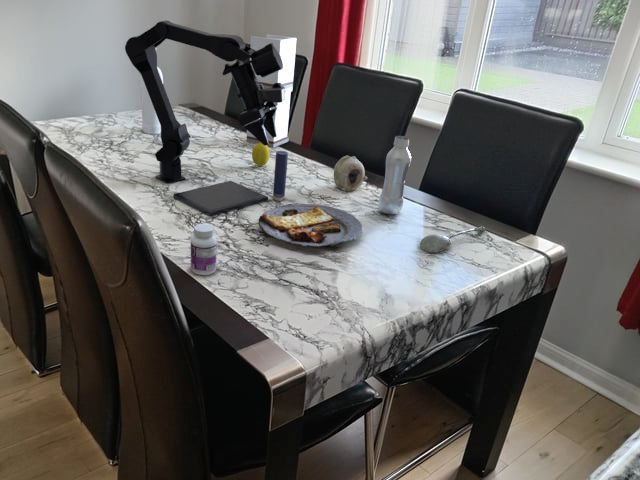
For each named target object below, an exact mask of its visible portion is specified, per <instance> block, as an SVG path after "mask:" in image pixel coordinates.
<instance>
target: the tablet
mask: <svg viewBox="0 0 640 480" xmlns="http://www.w3.org/2000/svg"><path fill="white" fill-rule="evenodd" d="M173 198H174V199H176V200H178V201H180V202H181V203H184V204H186V205H188V207H192V208H194V209H195V210H196V211H199V212H201V213H203V214H205V215H207V216H209V217H213V216H218V215H219V214H223V213H227V212H232V211H234V210H238V209H242V208H245V207H248V206H253V205H256V204H260V203H263V202H267V201H269V196H267V195H265V194H262V193H260V192H258V191H256V190H254V189H251V188H249V187H246V186H244V185H242V184H240V183H237V182H235V181H232V180H228V181H223V182H218V183H215V184H210V185H207V186H206V185H205V186H202V187H197V188H194V189H190V190H189V189H188V190H186V191H181V192H177V193H173Z"/></svg>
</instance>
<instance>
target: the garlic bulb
mask: <svg viewBox="0 0 640 480" xmlns="http://www.w3.org/2000/svg"><path fill="white" fill-rule="evenodd" d="M367 179H368V176H366V171H365V167H364V165H363V163H362V162H361V161H359V159H357V157H356V156H355V155H353V156H350V155H345V156H342V157H341V158H340V159H339V160H338V161H337V162H336V164H335V165H334V168H333V182H334V184H335V186H336V187H337V188H338V189H341V190H342V191H346V192H350V191H351V192H352V191H356V190H357V189H358V188H360V187H361V186H362V185H363V183H364V181H367Z"/></svg>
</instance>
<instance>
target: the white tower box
mask: <svg viewBox="0 0 640 480" xmlns="http://www.w3.org/2000/svg"><path fill="white" fill-rule="evenodd" d="M297 38H298V37H293V36H292V37H291V36H284V35H275V34H265V37H264V36H263V37H261V36H254V35H251V36H250V46H249V47H250V48H252V49H254V50H255V51H257V50H260V49H262V48H264V47H265V46H266V45H268V44H270V43H273V46H274V47H275V49H276V50H277V52H278V54H280V56H281V59H282V63H283V69H281V70H279V71H277V72H275V73H272V74H270V75H268V76H266V77H264V78H262V77H261V76H260V75H259V76H257V75H256V73H255V72H254V73H255V75H256V78H257V80H258V82H259V84H260V83H261V84H263V86H264V88H270V87H271V88H272V87H273V85H274V83H281V85H282V86H283V87H285V90H286V93H285V100H283V102H281V103H278V105H277V106H276V107H277V110H276V112H275V114H274V120H275V128H276V135H277V136H276V137H274V138H273V137H272V136H271V135H270V134H269V133H268V131H267V130H266V129H265V132H266V135H267V139H268V145H267V146H268V148H273V149H274V148H276V147H278V146H281V145H283V144H286V143H288V142H289V138H290V136H289V135H288V131H289V118H290V105H291V93H292V92H293V88H294V76H295V63H296V50H297ZM249 61H251V58H249ZM251 65H252V64H251ZM252 68H253V66H252ZM253 70H254V69H253ZM276 107H272V109H274V108H276ZM245 139H246V142H247V143H251V144H255V145H256V144H258V143H260V141H259V140H258V139H257V138H256V137H255V136H254V135H252V134H251V133H250V132H249V131H248V130H247V129H246V138H245Z"/></svg>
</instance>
